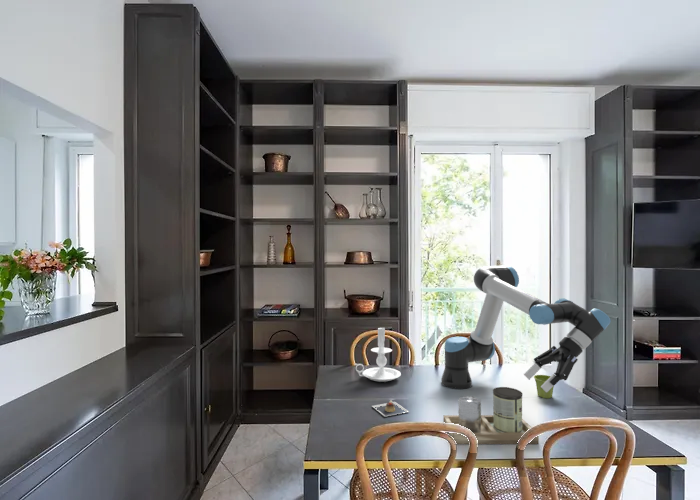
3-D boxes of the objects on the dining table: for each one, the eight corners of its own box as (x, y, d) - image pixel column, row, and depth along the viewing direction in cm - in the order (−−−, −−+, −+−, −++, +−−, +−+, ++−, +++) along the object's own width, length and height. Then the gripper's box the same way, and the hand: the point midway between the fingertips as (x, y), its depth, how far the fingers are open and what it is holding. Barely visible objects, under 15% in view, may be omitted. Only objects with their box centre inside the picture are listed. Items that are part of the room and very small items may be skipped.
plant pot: (558, 400, 178) (558, 381, 178) (536, 399, 180) (536, 380, 180) (552, 393, 187) (552, 375, 187) (531, 392, 189) (531, 374, 189)
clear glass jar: (456, 424, 150) (456, 396, 150) (476, 424, 151) (476, 396, 151) (462, 434, 142) (462, 404, 142) (483, 434, 143) (483, 404, 143)
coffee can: (492, 421, 153) (492, 385, 153) (521, 425, 150) (521, 388, 150) (493, 433, 143) (493, 394, 143) (523, 437, 140) (523, 398, 140)
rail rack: (443, 424, 154) (443, 415, 154) (518, 423, 155) (518, 415, 155) (454, 444, 138) (454, 434, 138) (538, 444, 139) (538, 434, 139)
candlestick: (352, 373, 218) (352, 323, 218) (396, 372, 220) (396, 322, 220) (356, 386, 197) (356, 331, 197) (404, 385, 199) (404, 330, 199)
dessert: (384, 419, 160) (384, 407, 160) (371, 408, 171) (371, 397, 171) (409, 414, 165) (409, 402, 165) (395, 404, 176) (395, 393, 176)
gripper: (603, 359, 134) (559, 403, 134) (563, 342, 159) (526, 379, 159) (587, 344, 134) (544, 387, 134) (550, 329, 159) (513, 366, 159)
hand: (534, 383), depth 147 cm, fingers open, 13 cm apart
